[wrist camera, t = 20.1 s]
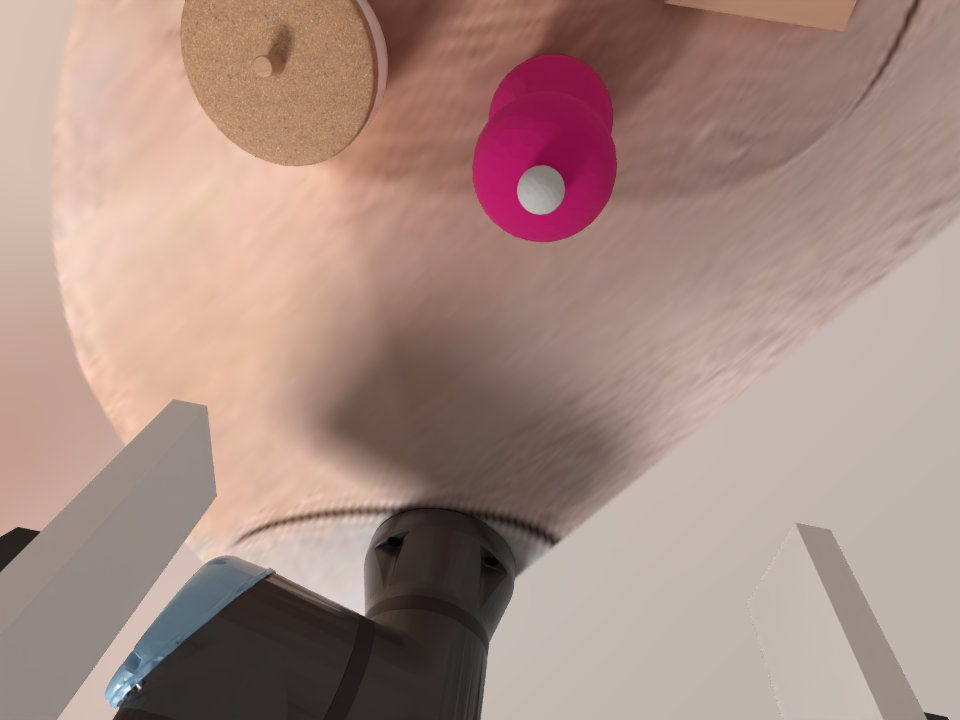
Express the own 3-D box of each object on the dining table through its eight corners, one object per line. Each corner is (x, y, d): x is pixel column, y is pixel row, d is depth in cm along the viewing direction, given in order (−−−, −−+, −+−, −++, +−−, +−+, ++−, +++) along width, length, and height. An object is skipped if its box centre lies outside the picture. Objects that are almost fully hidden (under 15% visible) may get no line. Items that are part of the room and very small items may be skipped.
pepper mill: (507, 38, 37) (456, 67, 20) (622, 61, 37) (672, 110, 20) (486, 157, 41) (429, 268, 24) (591, 179, 40) (610, 306, 23)
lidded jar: (226, -40, 37) (130, -53, 29) (396, -52, 35) (346, -70, 27) (266, 143, 42) (195, 175, 34) (415, 139, 41) (378, 171, 33)
